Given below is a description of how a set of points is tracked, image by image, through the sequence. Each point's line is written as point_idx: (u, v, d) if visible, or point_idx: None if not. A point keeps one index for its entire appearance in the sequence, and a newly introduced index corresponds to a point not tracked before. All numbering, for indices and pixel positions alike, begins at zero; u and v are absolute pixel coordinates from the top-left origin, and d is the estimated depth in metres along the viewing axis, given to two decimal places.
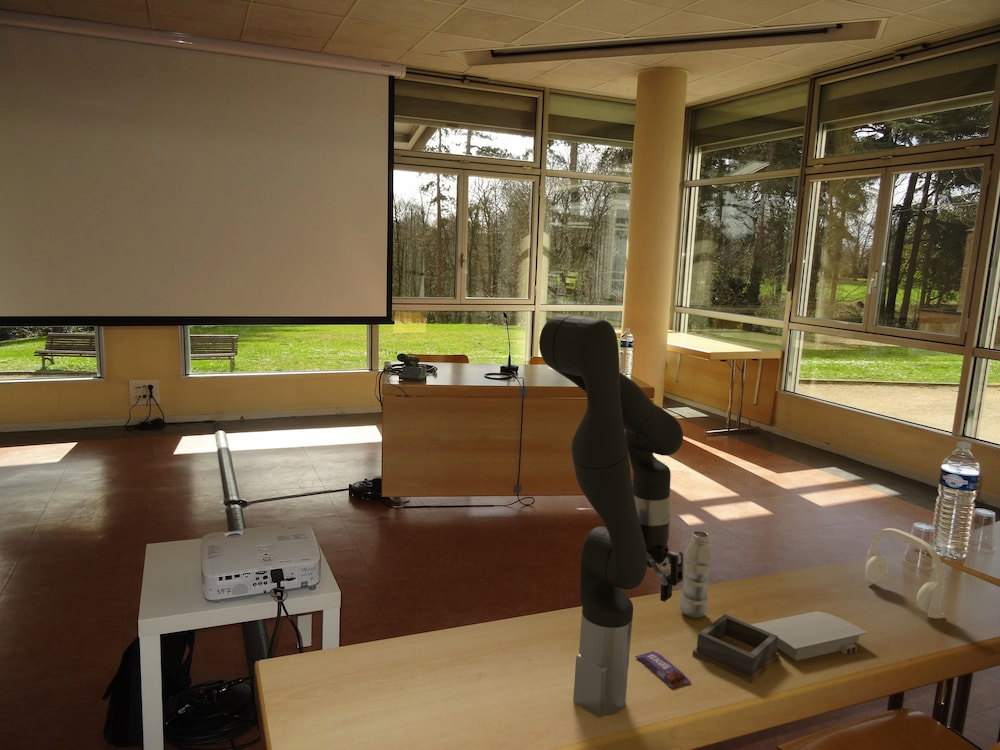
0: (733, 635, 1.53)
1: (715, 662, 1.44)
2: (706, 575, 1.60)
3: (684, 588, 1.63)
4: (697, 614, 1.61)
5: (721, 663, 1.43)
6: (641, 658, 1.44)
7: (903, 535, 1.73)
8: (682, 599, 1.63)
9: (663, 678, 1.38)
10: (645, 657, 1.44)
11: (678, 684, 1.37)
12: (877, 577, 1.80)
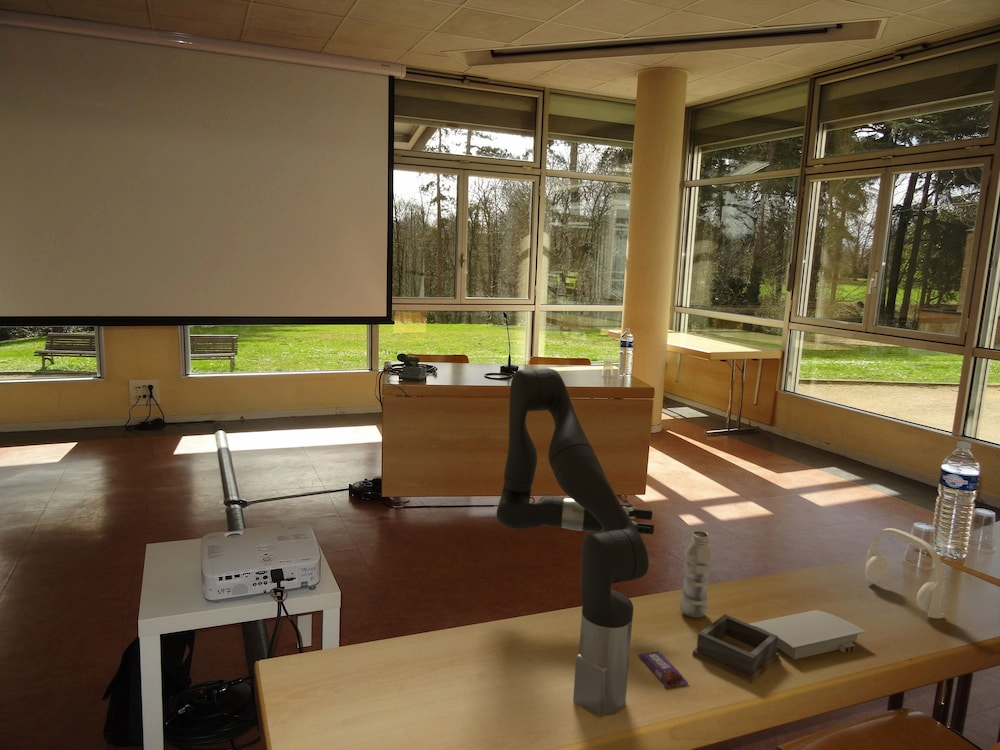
0: (733, 635, 1.53)
1: (715, 662, 1.44)
2: (706, 575, 1.60)
3: (684, 588, 1.63)
4: (697, 614, 1.61)
5: (721, 663, 1.43)
6: (642, 657, 1.45)
7: (903, 535, 1.73)
8: (682, 599, 1.63)
9: (660, 677, 1.38)
10: (646, 656, 1.44)
11: (674, 684, 1.37)
12: (877, 577, 1.80)
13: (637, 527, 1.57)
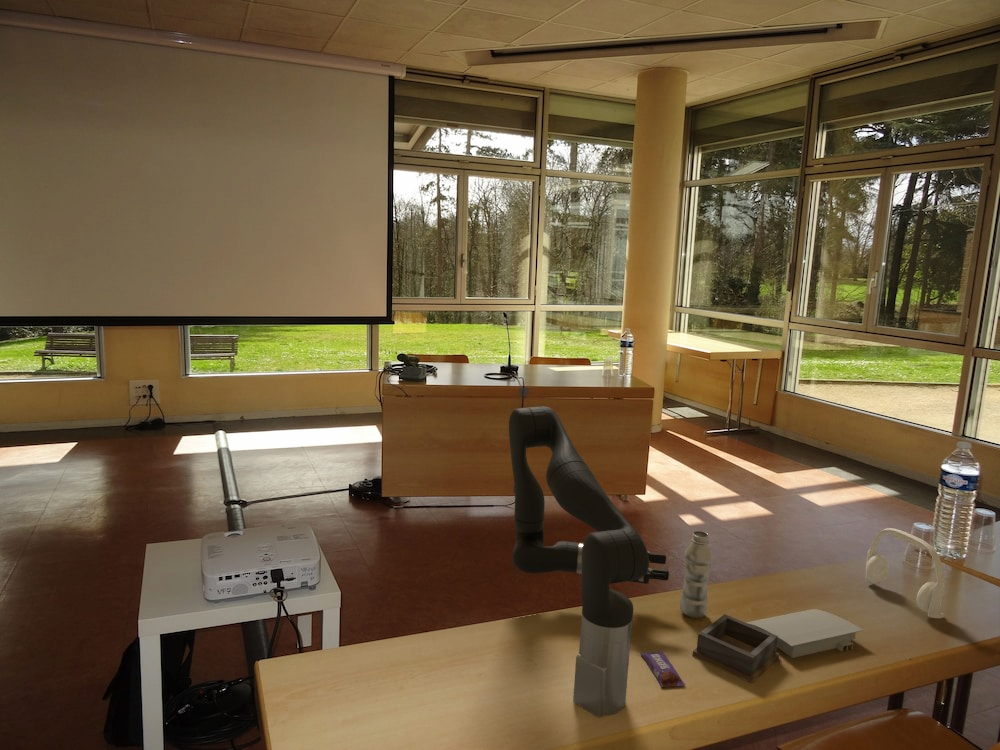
0: (733, 635, 1.53)
1: (715, 662, 1.44)
2: (706, 575, 1.60)
3: (684, 588, 1.63)
4: (697, 614, 1.61)
5: (721, 663, 1.43)
6: (644, 656, 1.45)
7: (903, 535, 1.73)
8: (682, 599, 1.63)
9: (657, 677, 1.38)
10: (648, 655, 1.45)
11: (670, 685, 1.36)
12: (877, 577, 1.80)
13: (652, 574, 1.58)
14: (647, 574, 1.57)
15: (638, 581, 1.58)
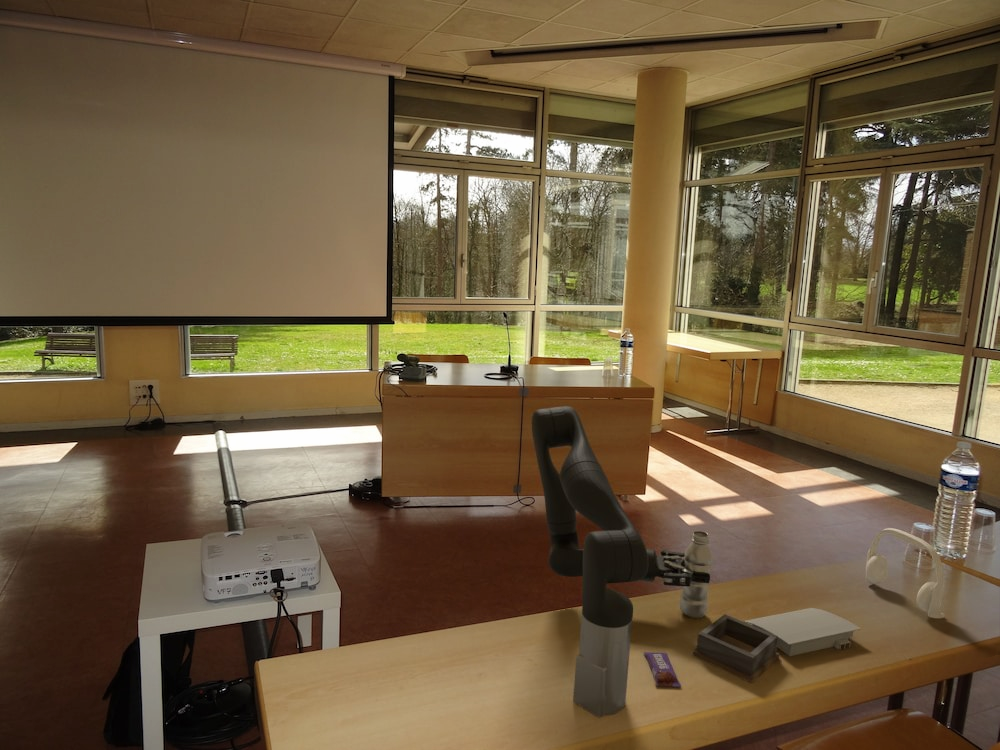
0: (733, 635, 1.53)
1: (715, 662, 1.44)
2: None
3: (684, 588, 1.63)
4: (697, 614, 1.61)
5: (721, 663, 1.43)
6: (647, 655, 1.46)
7: (903, 535, 1.73)
8: (682, 599, 1.63)
9: (654, 676, 1.39)
10: (650, 654, 1.45)
11: (666, 685, 1.36)
12: (877, 577, 1.80)
13: (694, 576, 1.58)
14: (689, 577, 1.57)
15: (680, 584, 1.57)
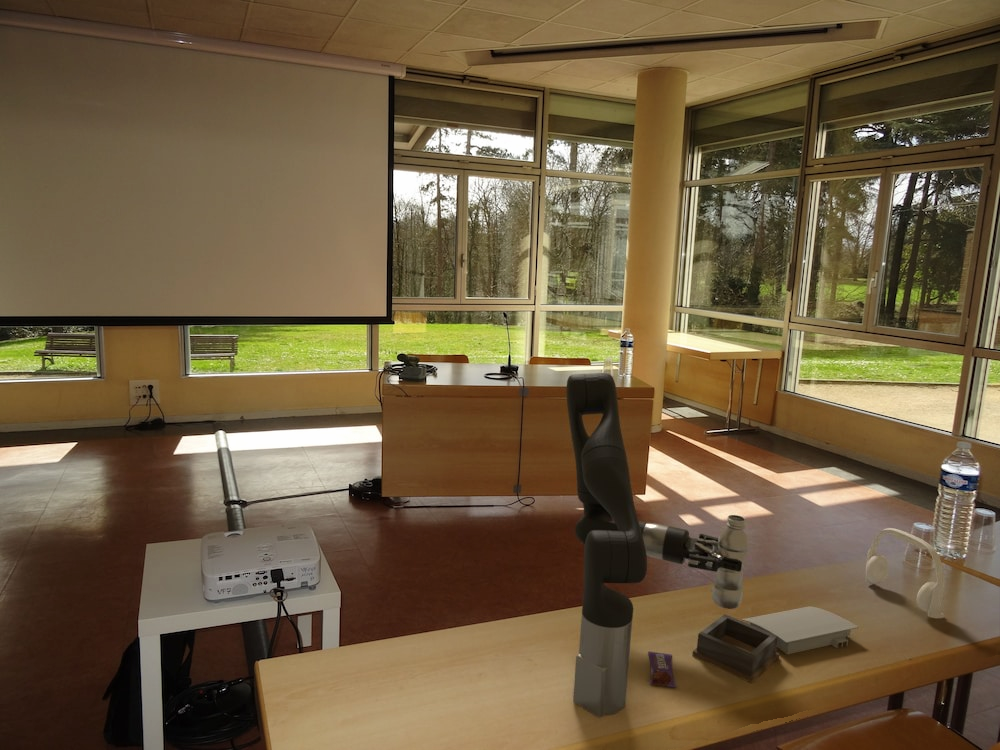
0: (733, 635, 1.53)
1: (715, 662, 1.44)
2: None
3: (716, 575, 1.51)
4: (727, 604, 1.49)
5: (721, 663, 1.43)
6: (650, 654, 1.46)
7: (903, 535, 1.73)
8: (713, 586, 1.51)
9: (651, 674, 1.39)
10: (653, 654, 1.45)
11: (660, 684, 1.37)
12: (877, 577, 1.80)
13: (723, 562, 1.46)
14: (716, 561, 1.45)
15: (706, 568, 1.46)
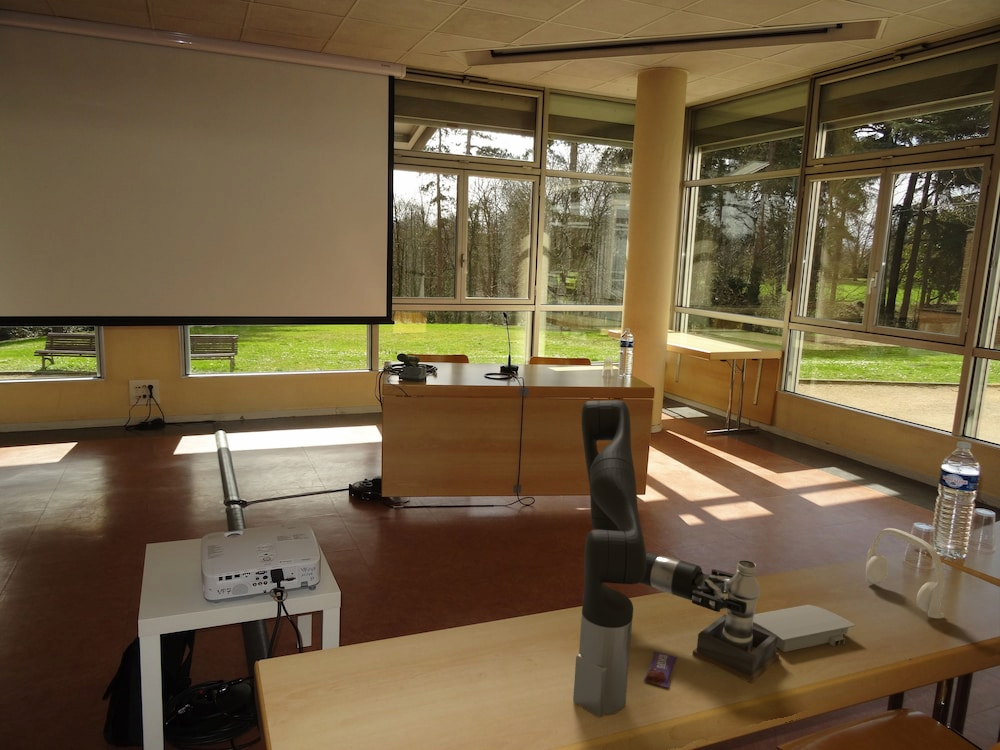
0: None
1: (715, 662, 1.44)
2: (747, 611, 1.43)
3: None
4: None
5: (721, 663, 1.43)
6: (654, 653, 1.46)
7: (903, 535, 1.73)
8: (722, 632, 1.47)
9: None
10: (656, 653, 1.45)
11: (654, 682, 1.37)
12: (877, 577, 1.81)
13: (726, 602, 1.42)
14: (717, 601, 1.41)
15: (708, 607, 1.42)
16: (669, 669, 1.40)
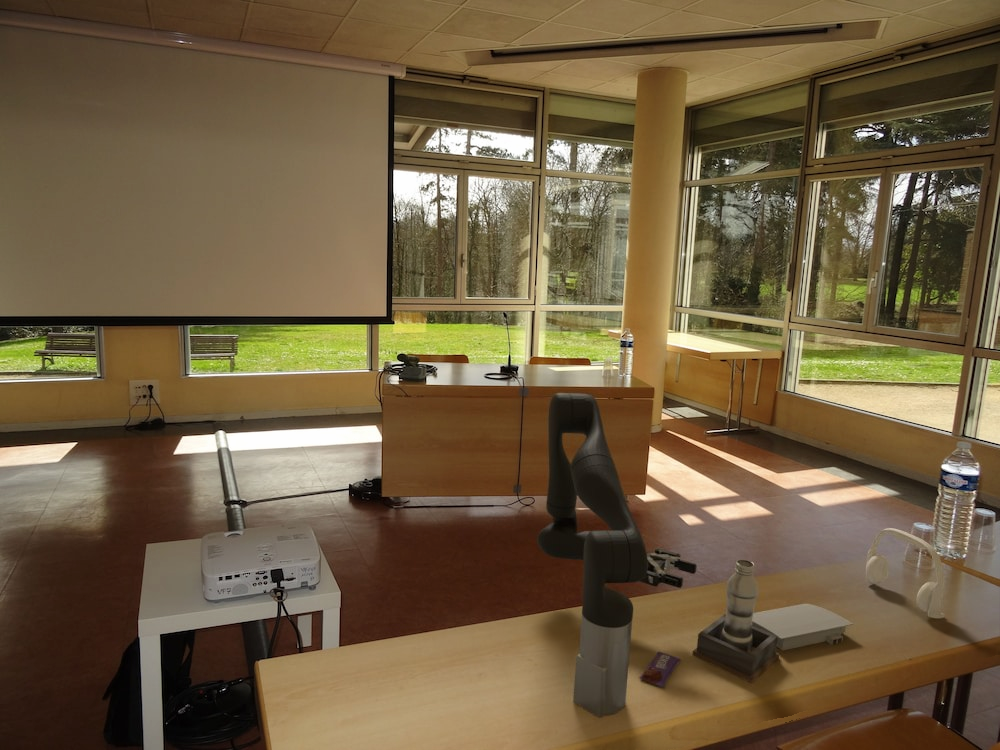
0: None
1: (715, 662, 1.44)
2: (746, 610, 1.43)
3: (725, 620, 1.47)
4: None
5: (721, 663, 1.43)
6: (657, 653, 1.46)
7: (903, 535, 1.73)
8: (722, 632, 1.47)
9: None
10: (659, 654, 1.45)
11: (649, 681, 1.37)
12: (877, 577, 1.81)
13: (664, 577, 1.48)
14: (655, 576, 1.48)
15: (646, 582, 1.49)
16: (668, 669, 1.40)
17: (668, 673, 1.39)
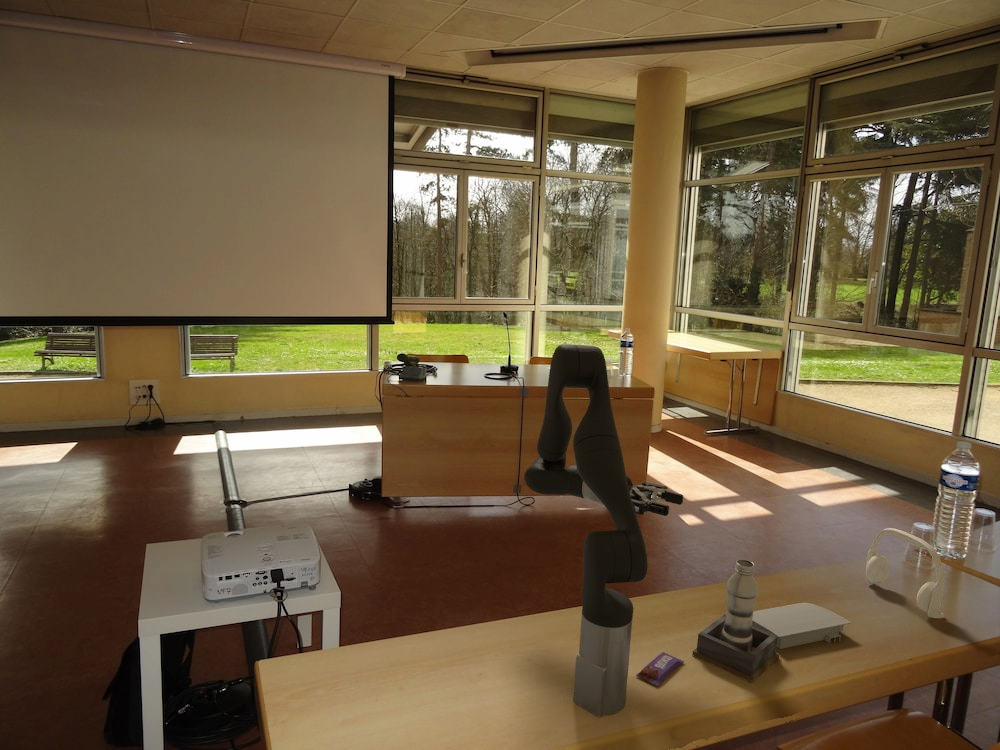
0: None
1: (715, 662, 1.44)
2: (746, 610, 1.43)
3: (725, 620, 1.47)
4: None
5: (721, 663, 1.43)
6: None
7: (903, 535, 1.73)
8: (722, 632, 1.47)
9: None
10: (662, 654, 1.45)
11: (645, 679, 1.38)
12: (877, 577, 1.81)
13: (650, 506, 1.47)
14: (641, 504, 1.47)
15: None
16: (666, 669, 1.40)
17: (666, 673, 1.39)
